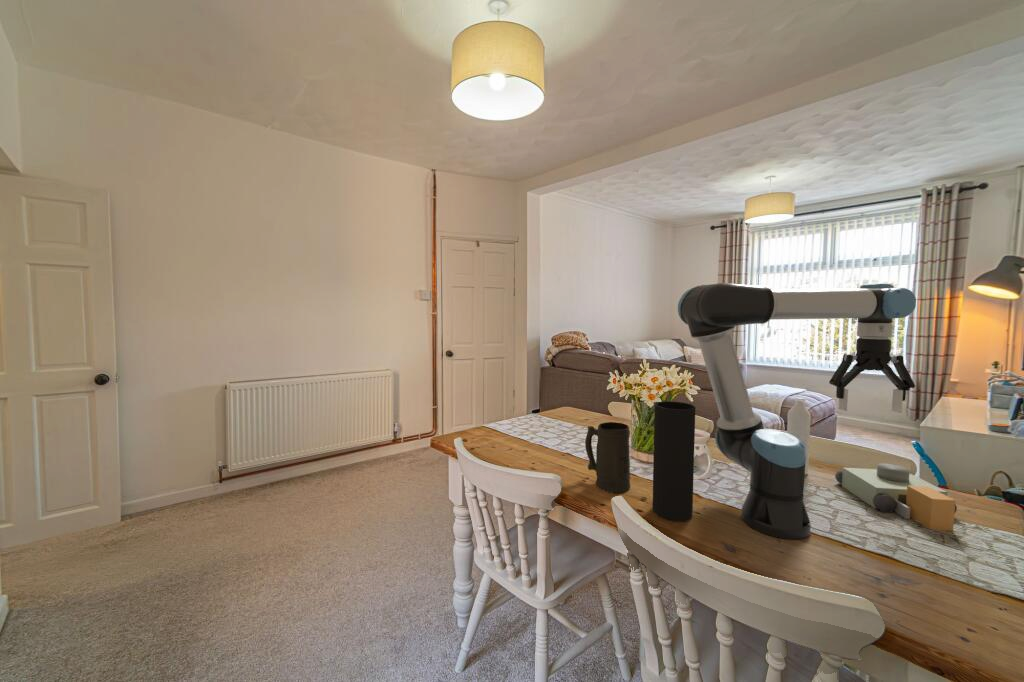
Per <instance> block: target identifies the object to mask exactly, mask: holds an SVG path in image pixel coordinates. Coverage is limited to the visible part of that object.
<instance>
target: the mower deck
mask: <svg viewBox="0 0 1024 682" xmlns="http://www.w3.org/2000/svg"><path fill="white" fill-rule="evenodd" d="M876 465H877V466H876V468H861V467H860V468H859V467H858V468H857V467H856V468H855V467H842V469H839V470H838V471H837V472H835V476H834V477H835V480H836V481H837V483H839V484H841V486H842V488H844V489H845V490H847V491H848V492H850V493H852V495H854V496H856V497H858V498H859V499H860V500H862V501H863V502H865V503H866V504H868V505H869V506H871V507H872V508H874V509H876V510H878V509H879V510H880V511H881V512H883V513H888V514H889V513H893V512H895V513H897V514H898V515H900V516H901V517H903V518H905V519H906V520H907V519H908V520H910V519H911V517H910V507H908V506H906V496H907V486H924V487H930V488H932V489H934V490H936V491H938V492H940V493H942V494H944V495H946V496H948V491H946V490H944V489H942V488H940V487H938V486H936V485H934V484H932V483H931V482H928V481H926V480H924V479H922V478H920V477H919V476H916V475H915V474H912V473H910V472H911V471H910V469H908V468H906V467H904V466H900V465H897V464H893V463H892V464H891V463H881V462H880V463H878V464H876ZM957 510H958V507H957V505H956V503H955V511H954V515H955V514H956V512H957Z"/></svg>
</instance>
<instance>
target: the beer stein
mask: <svg viewBox="0 0 1024 682" xmlns="http://www.w3.org/2000/svg"><path fill="white" fill-rule="evenodd" d="M630 435H631V430H630V427H629V425H627V424H626V423H623V422H617V421H615V422H613V421H608V422H603V423H600V424H598V425H597V428H595V426H594V425H588V426H587V434H586V437H585V439H584V440H585V441H584V444H585V450H586V455H587V459H588V461H589V463H588V465H587V469H588V471H592V470H593V471H595V473H596V474H595V476H596V479H595V486H596V487H597V488H598V489H599V490H601V491H603V490H604V491H603V492H606V491H608V492H607V493H611V492H615V493H614V494H623V493H626V492H628V491H629V490H630V489H631V470H630V469H631V459H630V457H631V456H630V454H631V453H630ZM594 436H597V441H596V447H595V449H596V451H595V452H596V454H595V455H596V458H595V456H594V451H593V445H592V442H593V441H592V439H593V437H594ZM622 492H623V493H622Z"/></svg>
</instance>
